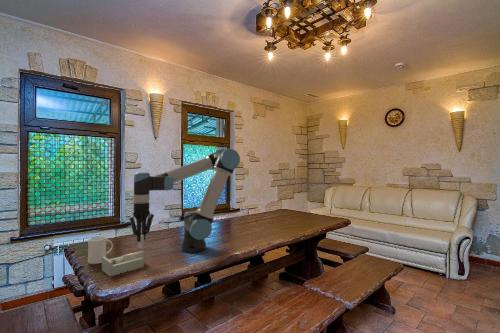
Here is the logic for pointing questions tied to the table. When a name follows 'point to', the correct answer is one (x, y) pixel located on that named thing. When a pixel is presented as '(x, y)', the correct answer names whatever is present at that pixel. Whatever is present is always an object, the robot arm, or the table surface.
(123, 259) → the bottle
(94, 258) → the mug
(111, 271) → the cradle
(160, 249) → the table surface
